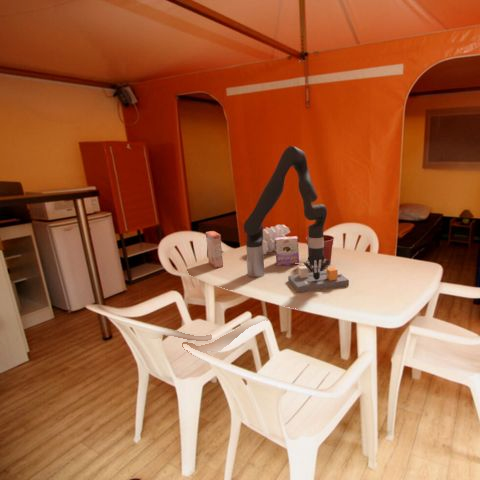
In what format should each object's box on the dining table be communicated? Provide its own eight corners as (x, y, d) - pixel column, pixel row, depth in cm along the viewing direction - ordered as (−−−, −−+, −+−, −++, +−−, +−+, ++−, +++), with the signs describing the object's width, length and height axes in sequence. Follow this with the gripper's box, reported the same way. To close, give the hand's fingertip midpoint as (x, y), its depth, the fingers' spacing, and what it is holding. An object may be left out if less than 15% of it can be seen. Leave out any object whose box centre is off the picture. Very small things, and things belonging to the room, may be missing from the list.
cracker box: (223, 266, 205) (220, 234, 200) (214, 268, 203) (211, 235, 198) (217, 260, 218) (214, 230, 212) (208, 262, 216) (205, 231, 210)
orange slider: (329, 280, 162) (329, 271, 160) (326, 277, 165) (326, 268, 164) (337, 279, 162) (337, 270, 161) (334, 276, 166) (333, 267, 165)
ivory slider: (301, 278, 168) (300, 268, 166) (298, 275, 172) (298, 266, 170) (308, 277, 168) (308, 267, 167) (305, 274, 172) (305, 265, 171)
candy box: (298, 261, 204) (297, 235, 200) (299, 264, 198) (298, 238, 194) (276, 262, 205) (274, 236, 201) (276, 265, 199) (274, 239, 195)
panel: (298, 292, 158) (297, 285, 157) (288, 281, 174) (288, 274, 173) (348, 285, 162) (348, 278, 161) (334, 274, 177) (334, 267, 176)
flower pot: (334, 259, 202) (334, 234, 198) (334, 268, 186) (334, 241, 182) (307, 259, 206) (306, 234, 202) (305, 268, 191) (304, 241, 187)
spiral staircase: (255, 260, 226) (279, 249, 241) (270, 253, 212) (295, 243, 227) (244, 235, 227) (269, 227, 242) (259, 227, 213) (285, 218, 228)
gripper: (325, 242, 163) (325, 274, 168) (300, 245, 161) (301, 278, 166) (332, 246, 156) (332, 280, 160) (305, 249, 154) (306, 283, 158)
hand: (316, 279), depth 163 cm, fingers closed
